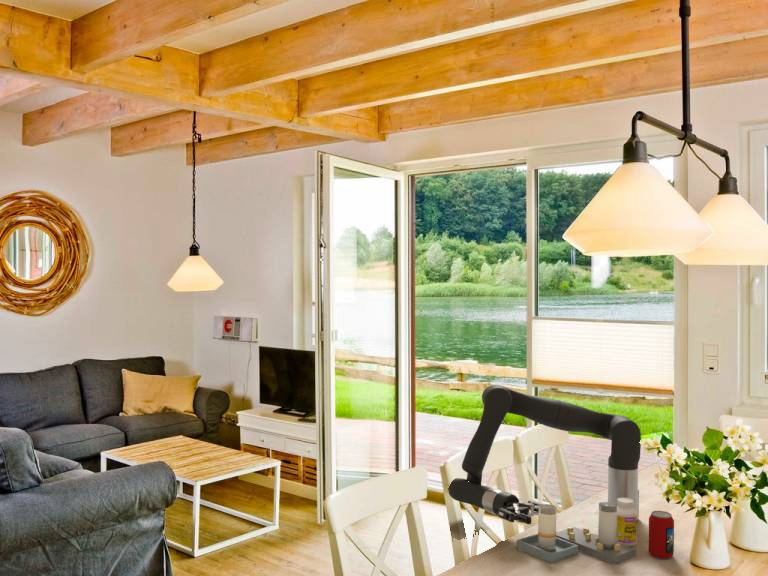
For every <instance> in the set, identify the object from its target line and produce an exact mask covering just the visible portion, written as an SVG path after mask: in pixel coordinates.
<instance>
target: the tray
mask: <svg viewBox="0 0 768 576" xmlns="http://www.w3.org/2000/svg"><path fill="white" fill-rule="evenodd" d="M516 548H517V550H519V549H520V550H519V551H521V550H522V551H521V552H523V551H525V552H524V553H526V552H527V553H526V554H528V553H529V554H528V555H531V556H533V557H535V558H539V559H541V560H542V561H545V562H548V563H549V564H554V563H558V562H560V561H563V560H565V559H569V558H572V557H575V556H577V555H579V550H578V545H575V544H573V543H570V542H568V541H565V540H562V539H560V538H557V537H556V550H555V551H552V552H547V551H545V550H542V549H540V548H538V533H535V534H531V535H528V536H525V537H521V538H519V539H516ZM516 548H515V549H516Z"/></svg>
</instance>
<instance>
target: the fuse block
mask: <svg viewBox="0 0 768 576" xmlns="http://www.w3.org/2000/svg"><path fill="white" fill-rule="evenodd" d="M556 537H557V538H560V539H562V540H565V541H568V542H570V543H573V544H575V545H578V552H582V553H584V554H587V555H589V556H592V557H593V558H594V557H595V558H597V559H599V560H603V561H605V562H607V563H610V564H613V565H616V564H618V562H619V563H621V562H623V561H626V559H627V560H630V559H632V558H635V557H636V556H637V549H636V548H634V547H633V546H626V545H624V544H621V543H618V539H617V544H615V545H614V549H613V550H607V549H603V544H601V543H598V534H596V533H592V532H590V529H589V528H587V527H583V529H581V528H578V527H576V526H569V527H567V528H566V529H562V530H559V531H556ZM615 563H616V564H615Z"/></svg>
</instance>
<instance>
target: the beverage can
mask: <svg viewBox="0 0 768 576" xmlns="http://www.w3.org/2000/svg"><path fill="white" fill-rule="evenodd" d="M647 543H648V544H647V545H648V553H649V554H650V555H651V556H652V557H653V558H656V559H660V560H669V559H670V558H672V557H674V554H675V553H674V552H675V550H674V548H675V519H674V517H673V516H672V513H670V512H668V511H664V510H652V511H651V513H650V515H649V517H648V542H647Z"/></svg>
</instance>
